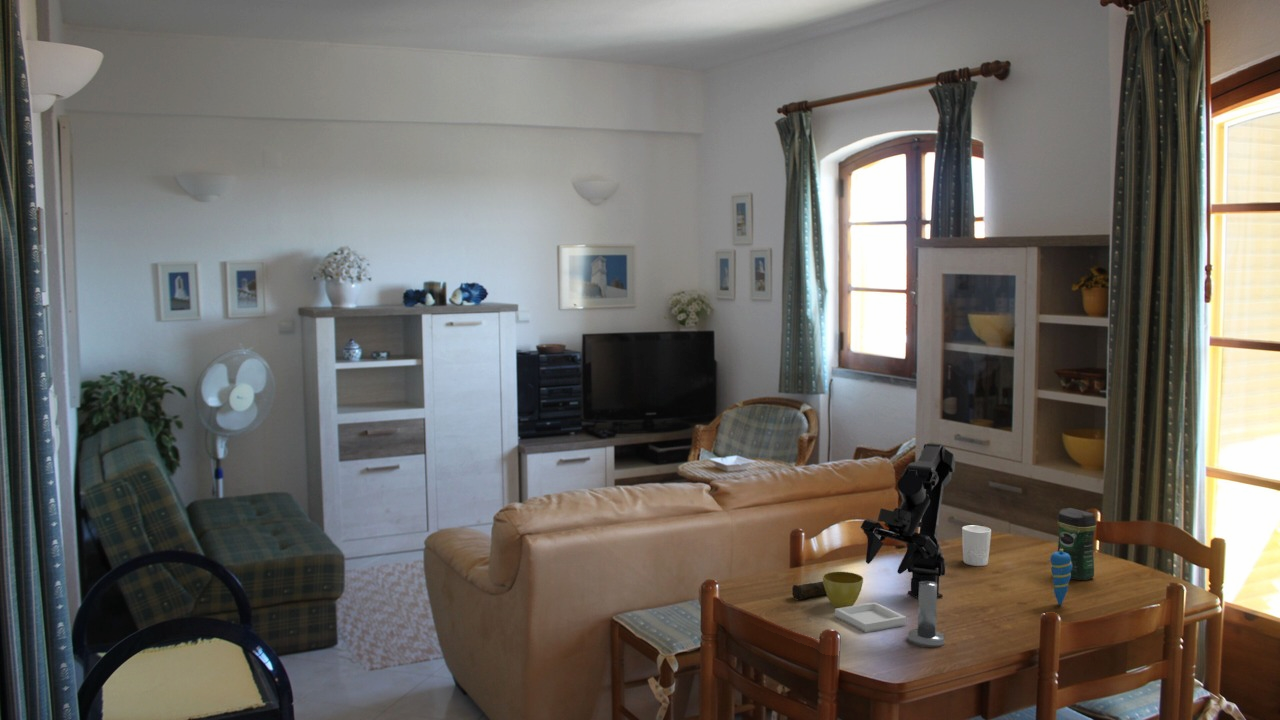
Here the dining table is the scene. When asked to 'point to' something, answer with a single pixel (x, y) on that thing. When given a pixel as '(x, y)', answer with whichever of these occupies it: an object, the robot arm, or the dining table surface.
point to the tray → (870, 617)
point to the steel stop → (927, 618)
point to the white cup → (976, 544)
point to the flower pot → (842, 588)
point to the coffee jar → (1077, 540)
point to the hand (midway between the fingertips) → (882, 567)
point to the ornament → (1061, 573)
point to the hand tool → (808, 590)
